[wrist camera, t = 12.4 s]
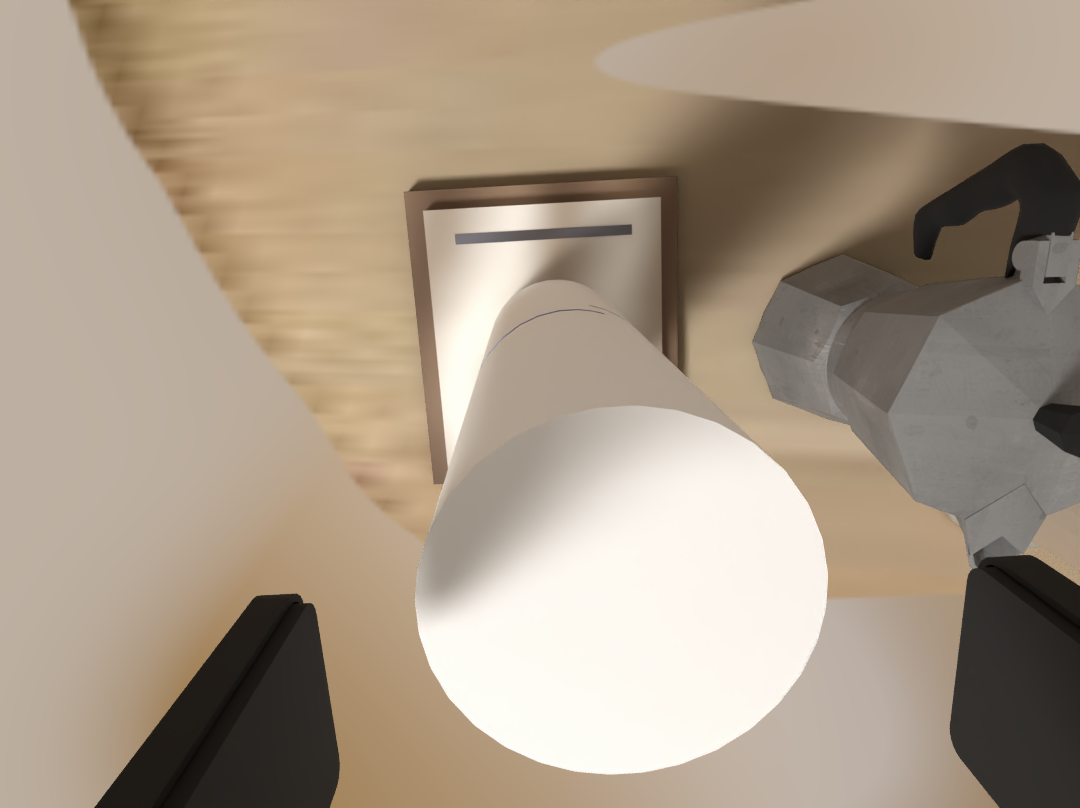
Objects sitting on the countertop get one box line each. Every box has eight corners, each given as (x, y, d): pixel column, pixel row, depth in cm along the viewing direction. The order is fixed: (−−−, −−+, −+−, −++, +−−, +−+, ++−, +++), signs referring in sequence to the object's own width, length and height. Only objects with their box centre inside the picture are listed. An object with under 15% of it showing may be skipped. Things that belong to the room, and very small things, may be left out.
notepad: (672, 177, 35) (680, 175, 34) (674, 463, 40) (681, 475, 38) (407, 192, 35) (400, 190, 34) (436, 477, 39) (431, 490, 38)
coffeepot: (902, 446, 40) (1197, 621, 22) (743, 452, 39) (913, 631, 22) (935, 170, 36) (1326, 119, 18) (758, 175, 35) (980, 129, 18)
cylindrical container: (490, 277, 35) (412, 399, 11) (628, 281, 35) (858, 411, 11) (488, 410, 37) (417, 772, 12) (619, 413, 37) (798, 776, 13)
